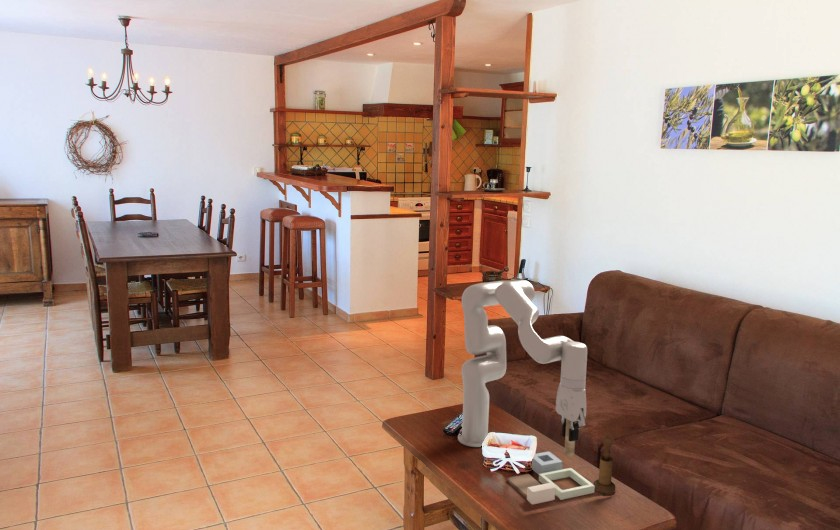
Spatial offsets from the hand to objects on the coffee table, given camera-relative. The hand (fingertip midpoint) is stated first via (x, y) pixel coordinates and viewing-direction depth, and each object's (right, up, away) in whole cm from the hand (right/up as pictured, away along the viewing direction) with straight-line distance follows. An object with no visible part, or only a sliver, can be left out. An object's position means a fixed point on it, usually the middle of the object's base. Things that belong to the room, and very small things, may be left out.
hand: (569, 437), depth 200 cm
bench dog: (-10, -18, -5) cm, 22 cm away
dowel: (0, -5, +1) cm, 5 cm away
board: (-13, -18, +2) cm, 22 cm away
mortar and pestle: (+12, -18, +3) cm, 21 cm away
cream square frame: (-1, -17, +3) cm, 18 cm away
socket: (-5, -15, +14) cm, 22 cm away
